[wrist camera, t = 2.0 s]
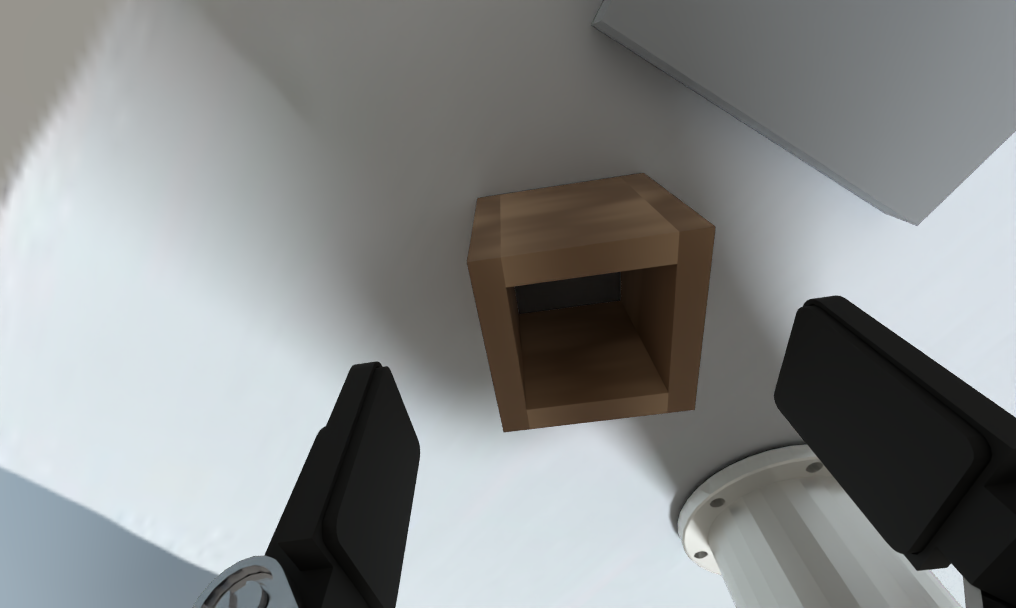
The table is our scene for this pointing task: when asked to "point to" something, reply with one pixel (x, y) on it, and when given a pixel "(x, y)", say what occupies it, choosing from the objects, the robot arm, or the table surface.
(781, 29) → the board
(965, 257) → the table surface
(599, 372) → the wooden cube shelf
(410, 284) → the table surface
